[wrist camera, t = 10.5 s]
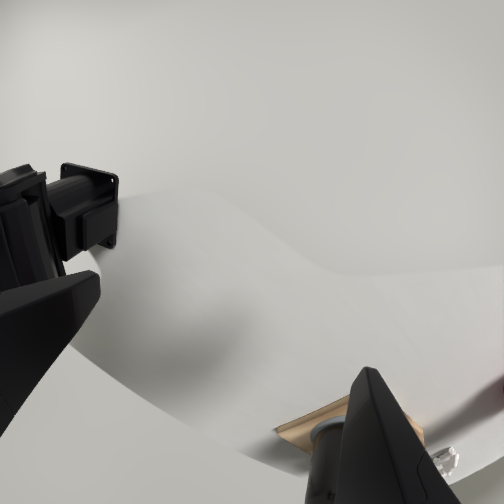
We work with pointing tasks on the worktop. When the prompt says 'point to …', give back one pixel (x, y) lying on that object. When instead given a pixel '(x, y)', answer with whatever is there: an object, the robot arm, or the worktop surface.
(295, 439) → the holder
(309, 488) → the supplement bottle
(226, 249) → the worktop surface
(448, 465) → the clip
